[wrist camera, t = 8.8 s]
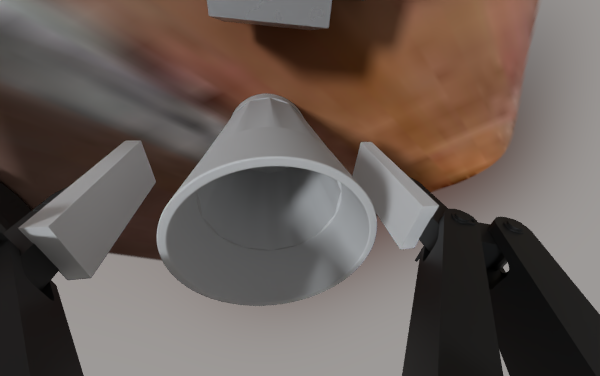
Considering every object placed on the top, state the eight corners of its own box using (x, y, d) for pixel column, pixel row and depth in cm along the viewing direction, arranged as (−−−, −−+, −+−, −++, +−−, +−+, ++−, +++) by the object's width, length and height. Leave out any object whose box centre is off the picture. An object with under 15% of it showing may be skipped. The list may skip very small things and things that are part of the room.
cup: (323, 160, 20) (380, 278, 10) (243, 185, 20) (224, 321, 11) (303, 66, 15) (371, 120, 6) (198, 100, 16) (91, 206, 6)
